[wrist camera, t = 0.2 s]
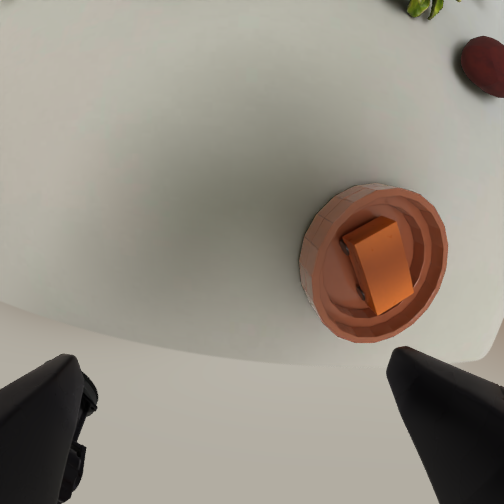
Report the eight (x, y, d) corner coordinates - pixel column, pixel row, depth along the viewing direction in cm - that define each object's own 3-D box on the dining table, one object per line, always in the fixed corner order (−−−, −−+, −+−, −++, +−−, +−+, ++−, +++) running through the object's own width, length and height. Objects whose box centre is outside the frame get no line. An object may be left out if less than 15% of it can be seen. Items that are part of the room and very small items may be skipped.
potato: (502, 97, 21) (538, 96, 15) (460, 101, 21) (501, 98, 15) (484, 44, 19) (518, 36, 13) (437, 39, 19) (475, 25, 13)
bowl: (430, 278, 27) (454, 294, 23) (327, 341, 27) (341, 367, 23) (400, 161, 23) (429, 163, 19) (272, 224, 23) (283, 238, 19)
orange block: (396, 278, 25) (415, 292, 22) (359, 300, 25) (376, 317, 22) (377, 212, 23) (398, 220, 20) (335, 234, 23) (352, 245, 20)
